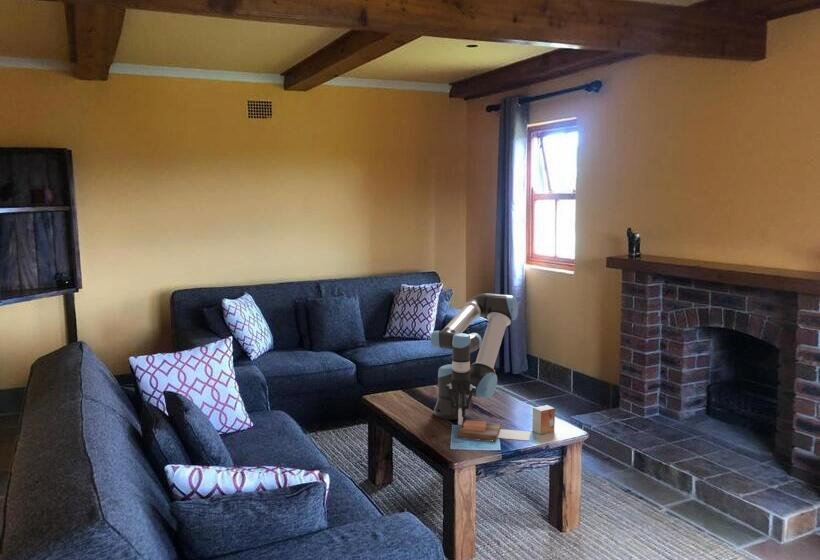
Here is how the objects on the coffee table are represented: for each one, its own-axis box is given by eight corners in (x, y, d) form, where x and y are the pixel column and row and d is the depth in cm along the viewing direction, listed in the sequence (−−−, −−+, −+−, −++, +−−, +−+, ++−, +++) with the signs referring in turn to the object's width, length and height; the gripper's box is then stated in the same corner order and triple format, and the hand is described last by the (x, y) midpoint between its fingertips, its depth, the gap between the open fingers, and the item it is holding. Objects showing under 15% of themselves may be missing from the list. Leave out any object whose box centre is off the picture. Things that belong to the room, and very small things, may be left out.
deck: (464, 426, 292) (464, 420, 291) (500, 429, 288) (500, 424, 287) (458, 437, 278) (458, 432, 278) (496, 441, 274) (496, 435, 274)
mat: (500, 429, 288) (500, 429, 288) (530, 432, 284) (530, 431, 284) (497, 438, 278) (497, 437, 278) (528, 441, 275) (528, 440, 275)
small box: (540, 435, 281) (540, 411, 280) (531, 430, 286) (532, 407, 285) (554, 431, 285) (555, 408, 284) (546, 427, 290) (546, 404, 289)
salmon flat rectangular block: (463, 429, 281) (463, 424, 281) (466, 424, 287) (466, 419, 287) (484, 431, 279) (484, 426, 279) (486, 426, 285) (486, 421, 285)
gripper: (444, 371, 279) (443, 425, 283) (474, 373, 276) (473, 428, 279) (447, 366, 287) (447, 419, 290) (477, 369, 283) (477, 422, 286)
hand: (460, 423), depth 284 cm, fingers closed
